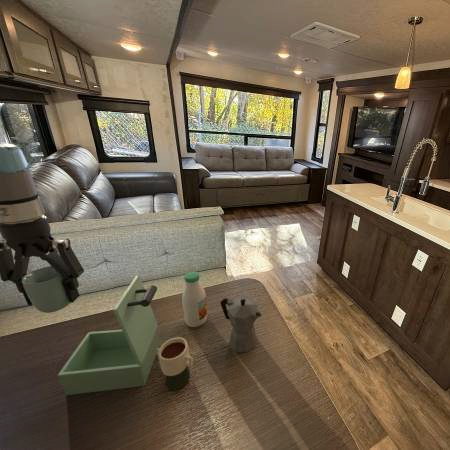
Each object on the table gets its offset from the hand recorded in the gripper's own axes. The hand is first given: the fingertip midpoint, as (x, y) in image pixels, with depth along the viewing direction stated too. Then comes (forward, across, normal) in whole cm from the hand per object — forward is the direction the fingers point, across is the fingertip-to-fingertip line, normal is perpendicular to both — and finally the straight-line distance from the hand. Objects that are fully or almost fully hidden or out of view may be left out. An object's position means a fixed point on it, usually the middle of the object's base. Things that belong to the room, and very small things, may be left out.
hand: (54, 300), depth 63 cm
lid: (+6, +19, -3) cm, 20 cm away
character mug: (+24, +29, -9) cm, 39 cm away
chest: (+24, +11, -2) cm, 26 cm away
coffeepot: (+24, +46, +3) cm, 52 cm away
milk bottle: (+24, +30, +14) cm, 41 cm away
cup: (+2, 0, 0) cm, 2 cm away
